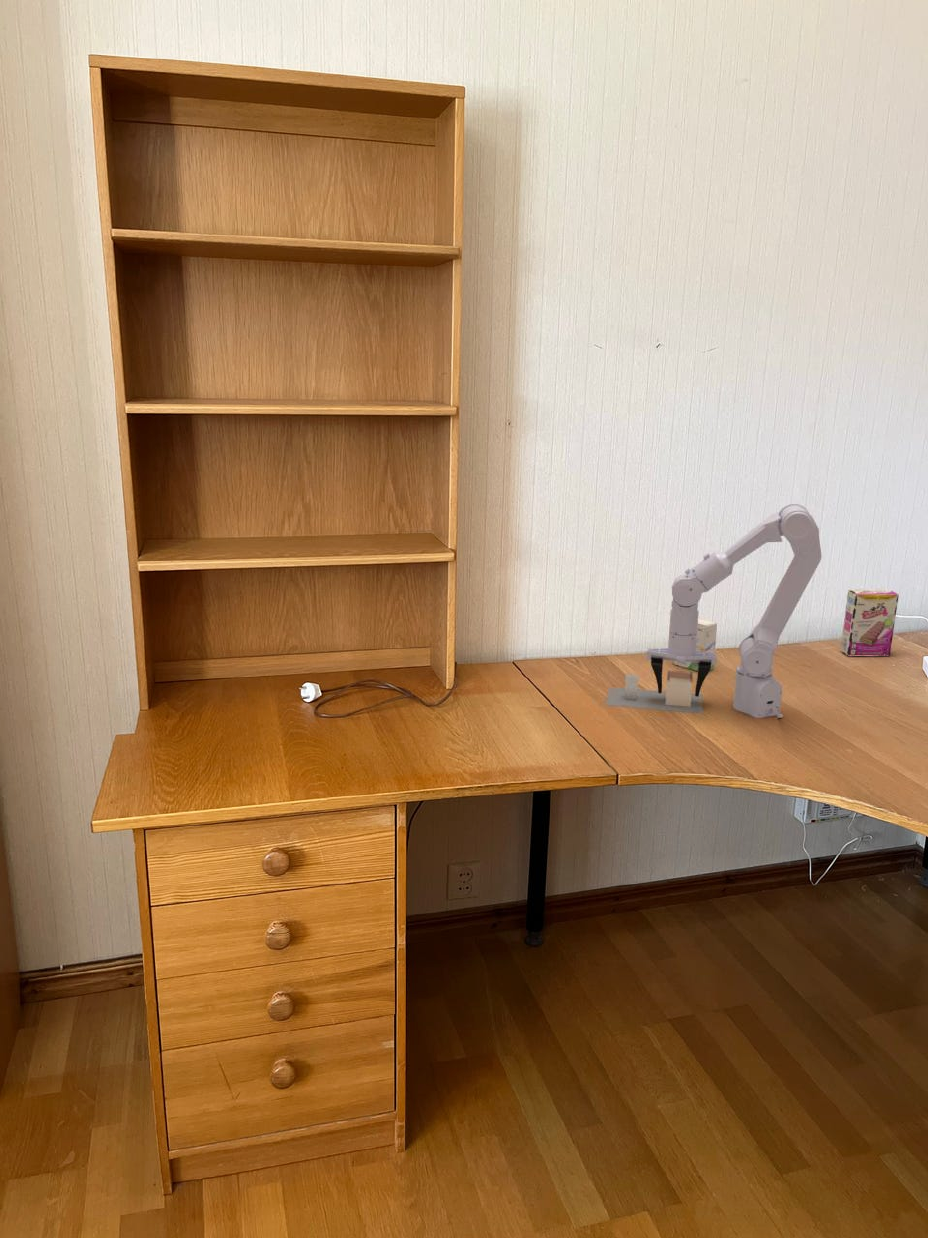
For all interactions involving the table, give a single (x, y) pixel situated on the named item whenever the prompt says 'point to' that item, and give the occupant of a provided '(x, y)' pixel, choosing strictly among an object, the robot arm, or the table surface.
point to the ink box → (702, 642)
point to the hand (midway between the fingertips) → (678, 693)
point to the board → (650, 701)
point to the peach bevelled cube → (679, 688)
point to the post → (631, 686)
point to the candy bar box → (869, 622)
